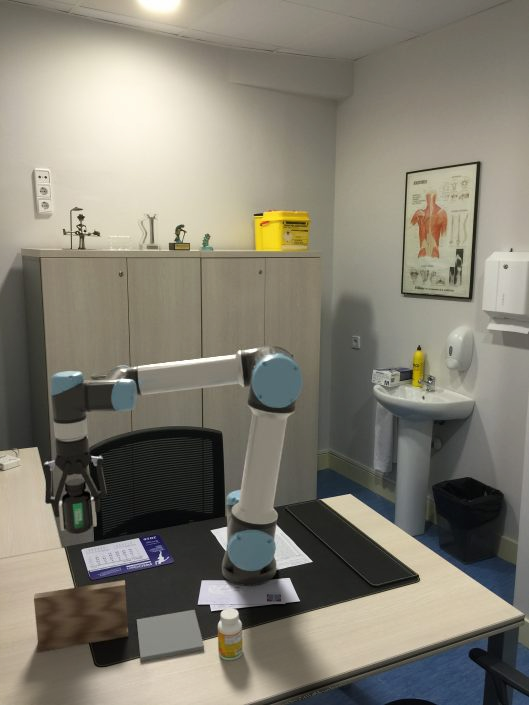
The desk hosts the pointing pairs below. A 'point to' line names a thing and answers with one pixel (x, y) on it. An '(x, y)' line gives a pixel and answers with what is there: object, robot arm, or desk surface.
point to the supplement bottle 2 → (230, 635)
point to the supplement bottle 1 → (77, 507)
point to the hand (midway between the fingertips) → (78, 525)
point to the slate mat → (169, 635)
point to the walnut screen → (80, 615)
